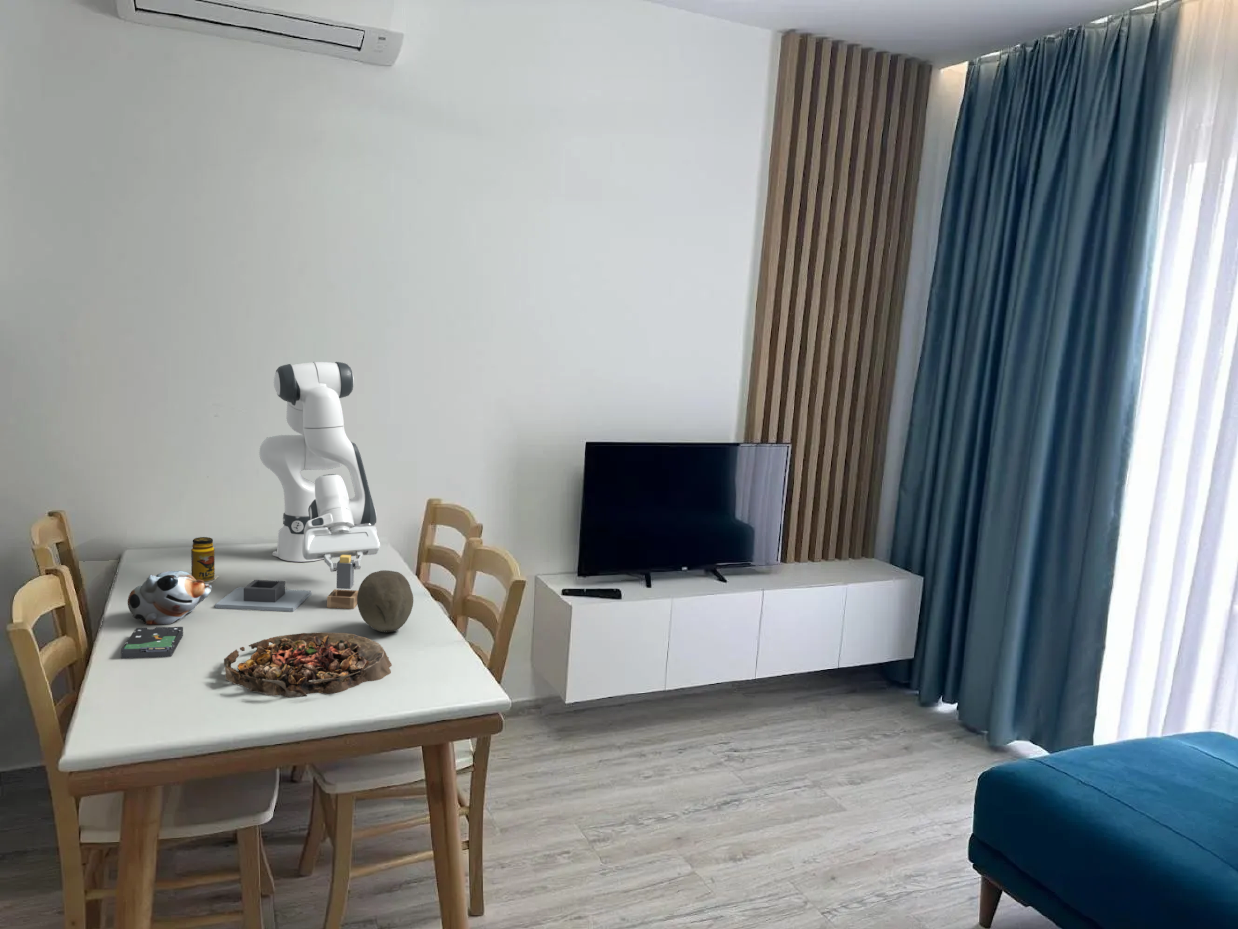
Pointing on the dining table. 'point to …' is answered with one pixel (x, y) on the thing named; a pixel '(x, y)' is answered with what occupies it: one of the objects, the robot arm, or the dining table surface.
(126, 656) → the disk drive
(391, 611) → the grey brown round stone
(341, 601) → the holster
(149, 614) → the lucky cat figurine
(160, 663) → the dining table surface
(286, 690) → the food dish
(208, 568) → the condiment
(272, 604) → the port
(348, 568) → the plug
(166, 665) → the dining table surface
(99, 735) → the dining table surface
